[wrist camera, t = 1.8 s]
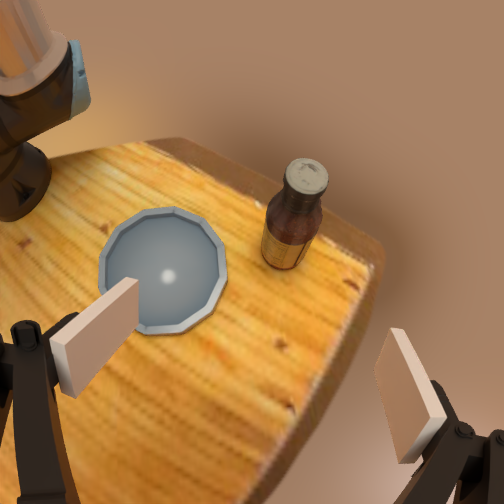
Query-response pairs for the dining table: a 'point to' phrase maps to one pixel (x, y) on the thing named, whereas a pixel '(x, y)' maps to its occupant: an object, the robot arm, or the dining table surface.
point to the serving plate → (167, 268)
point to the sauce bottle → (294, 214)
